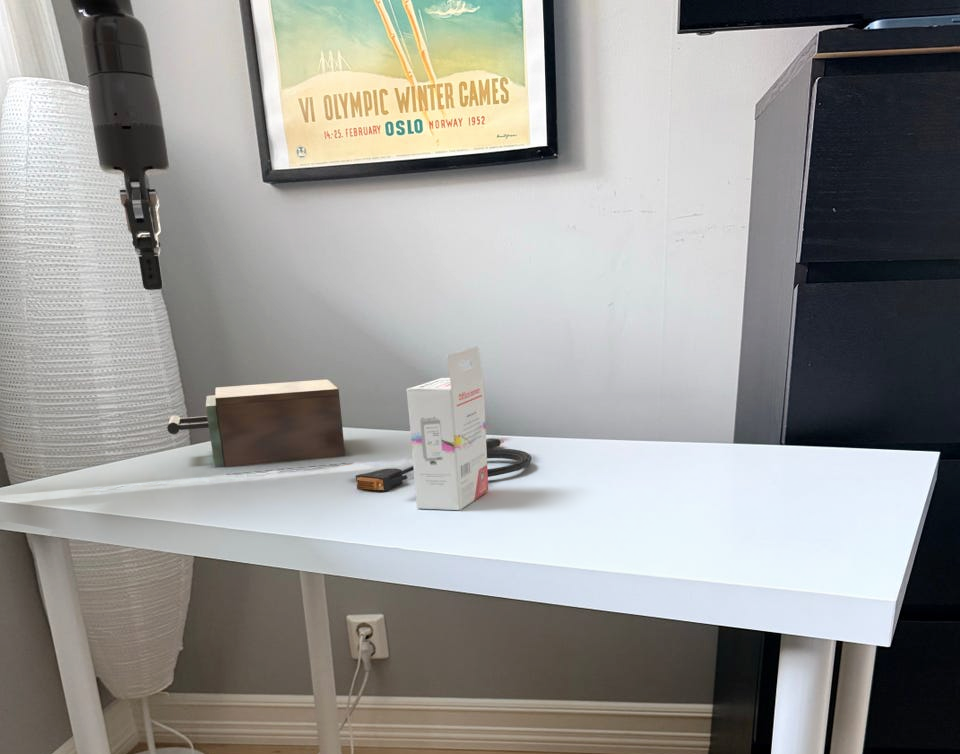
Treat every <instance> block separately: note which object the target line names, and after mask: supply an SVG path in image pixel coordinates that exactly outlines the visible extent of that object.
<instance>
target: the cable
mask: <svg viewBox="0 0 960 754" xmlns="http://www.w3.org/2000/svg"><path fill="white" fill-rule="evenodd" d="M504 443H505V441H504V439H502V438H486V448H487V459H503V460H513V461H516V463H513V464H510V465H505V466H500V467H494V468H487V472H488V478H491V477H496V476H501V475H506V474H511V473H514V472H518V471H520V470H522V469H524V468H525V467H527V466H528V465H530V464H531V462H532V455H531V454H529V453H528V452H526V451H523V450H520V449H514V448H513V449H512V448H497V447H500V446H501V444H504ZM413 471H414V467H413V465H412V466H409V467H408V468H405V469H403V470H402V468H395V467H393V468H391V467H390V468H389V467H388V468H383V469H378V470H374V471H370V472H365V473H360V474H356V475H355V481H356V482H355V484H356V489H357V490H366V491H372V492H383V493H384V492H385V493H386V492H388V491H390V490H392V489H394V488H396V487H398V486H401V485H402V484H404V483H403V481H406V480H408V476H407V475H406V474H407V473H410V472H413Z"/></svg>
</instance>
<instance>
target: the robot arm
mask: <svg viewBox="0 0 960 754" xmlns="http://www.w3.org/2000/svg"><path fill="white" fill-rule="evenodd" d="M69 1H70V5H71V8H72V11H73V14H74V17H75V20H76V22H77V24H78V28H79V31H80V35H81V46H82V53H83V58H84V64H85V70H86V76H87V84H88V85H87V87H88V103H89V109H90V116H91V122H92V126H93V127H92V128H93V134H94V139H95V147H96V153H97V157H98V164H99V168H100V170H101V171H102V172H103V173H106V174H111V175H117V176H118V175H119V176H120V175H123V179H124V187H125V188H124V189H119V197H120V203H121V205H122V206H123V208H124V213H125V219H126V226H127V231H128V232H129V233H130V234H131V238H132V241H131V242H132V247H134V252H135V253H136V256H138V262H139V269H140V276H141V282H142V287H143V289H145V290H147V291H155V290H156V291H158V290H162V289H163V288H164V281H163V275H162V268H161V267H162V266H161V261H160V255H161V254H160V253H161V242H160V237H159V234H161V231H162V230H161V224H160V223H161V222H160V215H159V208H160V200H159V193H158V191H157V189H156V188H151V185H150V180H149V177H150V175H158V174H159V175H160V174H164V173H167V172H168V171H169V169H170V163H169V155H168V149H167V143H166V135H165V127H164V122H163V121H164V120H163V116H162V115H163V113H162V107H161V103H160V102H161V101H160V98H159V94H158V90H157V87H156V86H157V85H156V81H155V76H154V68H153V62H152V54H151V47H150V41H149V37H148V33H147V30H146V28H145V26H144V24H143V22H142V21H141V20H140V19H138V18H137V17H136V16H135V13H134V9H133V4H132V0H69Z"/></svg>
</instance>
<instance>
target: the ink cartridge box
mask: <svg viewBox="0 0 960 754" xmlns="http://www.w3.org/2000/svg"><path fill="white" fill-rule="evenodd" d="M480 353H481V352H480V348H479V347H478V346H477V345H476V346H474V347H471V348H470V347H468V348H464V349H461V350H457V351H454V352H450V353H448V354H447V355H446V362H447V369H448V375H449V377H440V378H437V379H434V380H431V381H427V382H424V383H422V384H418V385H415V386H412V387H408V388H406V389H405V391H406V399H407V410H408V416H409V417H408V420H409V421H408V422H409V433H410V443H411V454H412V466H413V467H414V470H413V478H414V490H415V500H416V509H425V510H445V511H446V510H447V511H461V510H462V509H464V508H466V507H467V506H468V505H470V504H471V503H472V502H474V501H476V500H477V499H479V498H480V497H482V496H483V495H484V494H486V493H487V492H488V491H489V479H488V478H489V477H488V472H487V469H488V458H487V448H486V439H487V429H486V412H485V410H486V409H485V387H484V384H485V383H484V377H483V376H484V375H483V369H482V362H481V361H482V360H481V354H480ZM464 361H465V362H466V363H467V362H468V363H469V367H467V368H464V369H461V364H463V363H464Z"/></svg>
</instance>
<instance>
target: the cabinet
mask: <svg viewBox="0 0 960 754" xmlns="http://www.w3.org/2000/svg"><path fill="white" fill-rule="evenodd" d="M214 393H215V394H214V395H215V400H216V407H217V413H218V420H219V427H220V434H221V441H222V447H223V454H224V461H225V466H224V467H225V468H232V467H233V468H234V467H241V466H254V465H255V466H256V465H265V464H275V463H276V464H277V463H286V462H297V461H308V460H309V461H310V460H319V459H329V458H331V459H332V458H339V457H340V458H341V457H346V449H345V439H344V428H343V419H342V417H343V416H342V408H341V397H340V389H339V388H338V387H337V386H336V385H334V383H333V382H332V381H330V380H329V379H314V380H313V379H312V380H300V381H299V380H298V381H285V382H273V383H260V384H259V383H258V384H245V385H233V386H231V385H230V386H221V387H220V386H217V387H215V392H214ZM343 464H347V463H346V462H344V463H343V462H342V463H341V465H343ZM333 465H334V466H335V465H336V463H332V464H330V466H333ZM324 466H325V464H322V465H320V467H324ZM312 467H315V465H310V466H309V468H312ZM301 468H303V469H304V467H303V466H300V467H298V469H301ZM290 469H293V467H289V468H288V470H290ZM280 470H283V468H280V469H277V471H280ZM268 471H270V472H271V471H272V469H268V470H266V472H268ZM260 472H261V470H259V471H258V470H257V471H256V473H260ZM248 473H249V474H250V473H251V471H247V472H245V474H248ZM236 474H240V472H239V473H238V472H235V473H234V475H236ZM226 475H229V473H226Z"/></svg>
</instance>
